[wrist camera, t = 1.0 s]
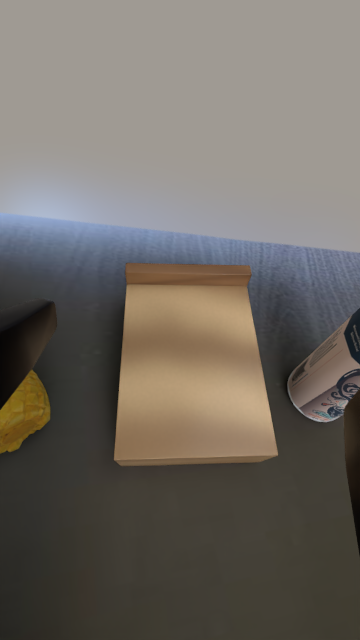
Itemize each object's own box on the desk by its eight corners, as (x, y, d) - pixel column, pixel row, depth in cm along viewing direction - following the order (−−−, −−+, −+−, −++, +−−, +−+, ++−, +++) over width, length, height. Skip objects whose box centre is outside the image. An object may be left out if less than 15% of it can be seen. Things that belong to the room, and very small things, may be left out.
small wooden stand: (259, 462, 22) (287, 452, 17) (120, 466, 21) (110, 457, 16) (234, 303, 29) (249, 265, 24) (130, 302, 28) (125, 262, 23)
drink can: (303, 431, 23) (422, 377, 13) (274, 375, 25) (356, 291, 15) (354, 412, 24) (501, 348, 14) (322, 360, 26) (428, 271, 16)
